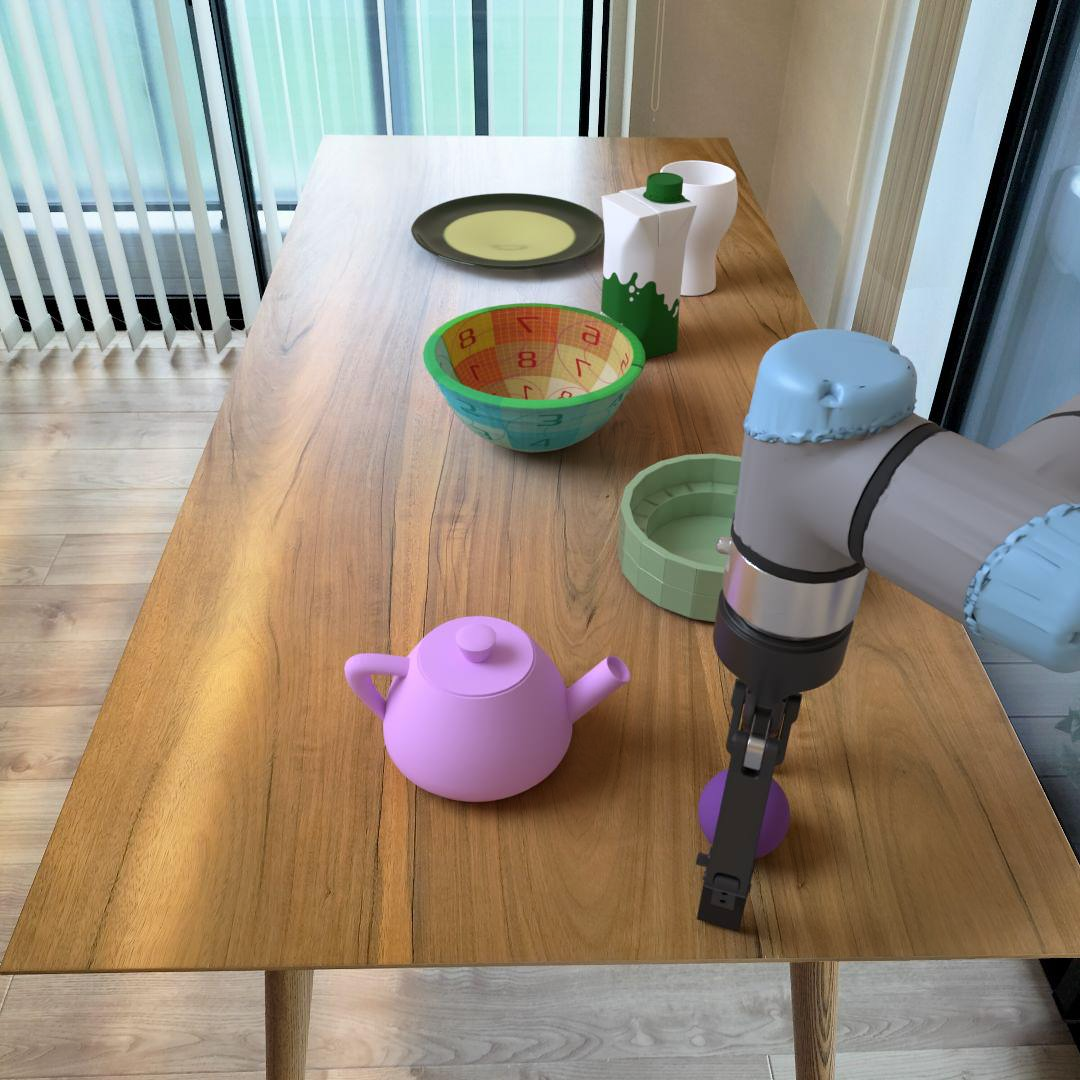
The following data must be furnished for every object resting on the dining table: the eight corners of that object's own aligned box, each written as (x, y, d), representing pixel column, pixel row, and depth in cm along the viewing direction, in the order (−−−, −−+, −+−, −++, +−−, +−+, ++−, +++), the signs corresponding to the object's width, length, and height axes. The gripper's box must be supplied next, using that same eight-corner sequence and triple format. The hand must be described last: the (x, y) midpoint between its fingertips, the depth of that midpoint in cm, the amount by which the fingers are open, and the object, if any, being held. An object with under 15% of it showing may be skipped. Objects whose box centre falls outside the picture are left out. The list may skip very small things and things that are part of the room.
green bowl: (853, 569, 97) (867, 515, 94) (726, 658, 88) (735, 602, 84) (705, 484, 107) (712, 433, 104) (577, 556, 98) (580, 502, 94)
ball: (800, 844, 73) (815, 786, 70) (744, 894, 70) (756, 837, 66) (732, 791, 77) (743, 733, 73) (675, 837, 74) (684, 779, 70)
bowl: (387, 460, 110) (380, 373, 104) (488, 366, 126) (486, 286, 120) (588, 518, 103) (593, 428, 97) (668, 410, 119) (676, 327, 113)
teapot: (633, 813, 75) (644, 706, 69) (344, 818, 74) (328, 711, 68) (615, 673, 86) (624, 570, 80) (363, 676, 85) (351, 572, 79)
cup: (732, 301, 141) (747, 187, 132) (651, 301, 141) (660, 186, 132) (720, 268, 150) (733, 159, 140) (643, 267, 149) (652, 158, 140)
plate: (645, 259, 152) (646, 242, 150) (468, 299, 140) (467, 281, 139) (544, 196, 171) (544, 180, 169) (381, 227, 159) (380, 211, 158)
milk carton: (688, 352, 130) (706, 187, 118) (626, 369, 126) (638, 201, 114) (646, 323, 136) (659, 163, 124) (585, 339, 132) (593, 176, 120)
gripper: (755, 469, 71) (716, 696, 84) (673, 743, 52) (639, 982, 65) (873, 491, 69) (814, 720, 82) (831, 784, 50) (764, 1020, 63)
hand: (737, 836), depth 73 cm, fingers open, 13 cm apart
